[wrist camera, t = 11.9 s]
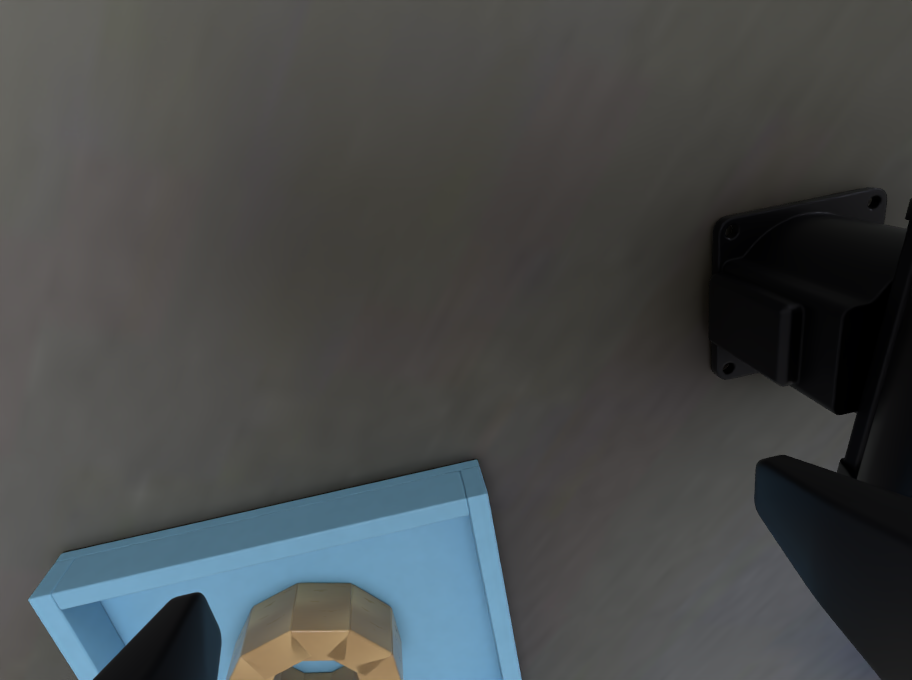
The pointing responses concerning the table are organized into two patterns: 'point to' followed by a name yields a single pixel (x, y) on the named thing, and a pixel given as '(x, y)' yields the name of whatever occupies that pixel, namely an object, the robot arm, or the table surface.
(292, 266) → the table surface
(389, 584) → the tray
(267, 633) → the wooden ring
